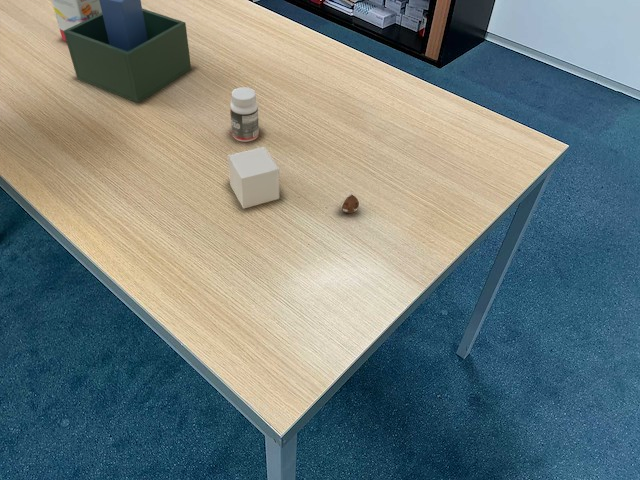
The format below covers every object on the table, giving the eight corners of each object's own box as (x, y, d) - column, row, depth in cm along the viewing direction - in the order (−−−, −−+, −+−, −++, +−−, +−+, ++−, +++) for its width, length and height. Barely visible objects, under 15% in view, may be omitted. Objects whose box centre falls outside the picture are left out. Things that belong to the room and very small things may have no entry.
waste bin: (77, 79, 107) (63, 30, 100) (133, 48, 116) (123, 2, 109) (138, 103, 102) (128, 54, 95) (191, 69, 112) (185, 22, 105)
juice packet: (116, 75, 107) (98, -2, 96) (132, 61, 111) (116, -15, 100) (137, 79, 106) (121, 2, 95) (152, 65, 110) (138, -11, 99)
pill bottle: (228, 130, 97) (224, 88, 91) (252, 124, 99) (251, 83, 93) (237, 145, 95) (235, 103, 89) (263, 138, 96) (261, 97, 90)
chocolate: (348, 220, 83) (351, 200, 80) (338, 212, 84) (340, 193, 81) (361, 211, 84) (364, 192, 82) (351, 204, 85) (353, 184, 83)
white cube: (243, 209, 83) (241, 178, 79) (230, 185, 87) (227, 155, 83) (279, 198, 85) (279, 168, 81) (265, 176, 89) (264, 146, 85)
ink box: (89, 51, 114) (74, -6, 106) (61, 40, 117) (44, -17, 109) (120, 37, 120) (108, -19, 111) (92, 26, 122) (78, -29, 114)
